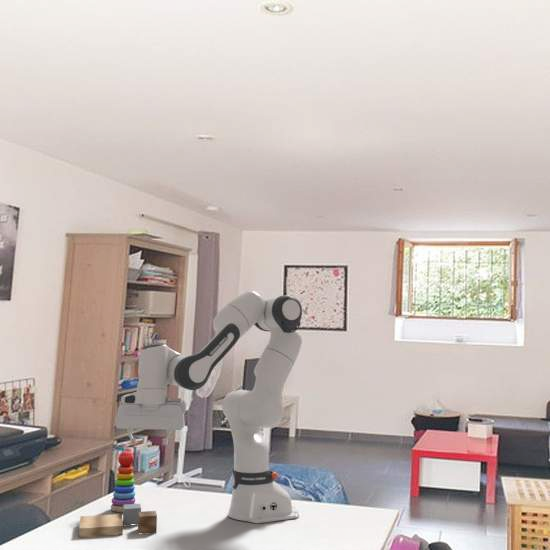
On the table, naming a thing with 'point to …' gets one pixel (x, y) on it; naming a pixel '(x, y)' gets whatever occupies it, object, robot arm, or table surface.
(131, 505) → the slate block
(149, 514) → the walnut block
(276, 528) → the table surface
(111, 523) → the base board
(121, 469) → the stacking toy
